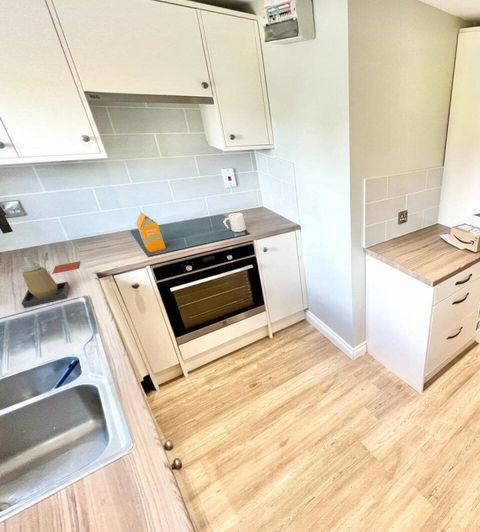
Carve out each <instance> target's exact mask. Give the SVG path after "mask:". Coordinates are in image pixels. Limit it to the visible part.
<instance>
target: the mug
mask: <svg viewBox="0 0 480 532" xmlns="http://www.w3.org/2000/svg"><path fill="white" fill-rule="evenodd" d="M227 221H229V224H230V227H229V225H228V224H227ZM222 223H223V224H224V227H226V229H229V228H230V229H231V231H232V232H235V233H239V232H243V231H246V228H247V227H246V223H245V217H244V214H243V213H241V212H235V213H233V212H232V213H229V214H228V217H225V218H224V219H223V221H222Z"/></svg>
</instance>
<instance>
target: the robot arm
mask: <svg viewBox="0 0 480 532" xmlns="http://www.w3.org/2000/svg"><path fill="white" fill-rule="evenodd" d="M6 216H7V212H5V210H4V209H3V208H2V206H1V205H0V231H1V233H2V234H9V233H12V232H14V230H13V228H12V226H11V225H10V223H9V221H8V219H7V218H6Z"/></svg>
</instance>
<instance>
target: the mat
mask: <svg viewBox="0 0 480 532" xmlns="http://www.w3.org/2000/svg"><path fill="white" fill-rule="evenodd" d="M80 264H81V261H75V262H74V261H73V262H69V263H68V262H67V263H63V264H58V265H54V269H53V271H52V274H58V273H63V272H67V271H73V270H78V269H79V267H80Z"/></svg>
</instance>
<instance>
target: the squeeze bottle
mask: <svg viewBox="0 0 480 532" xmlns="http://www.w3.org/2000/svg"><path fill="white" fill-rule="evenodd" d="M23 261H24V265H23V266H22V268H21V269H23V272H22V273H21V274H22V277H23V279H24V282H25V285H26V287H27V290H29V292H30V293H31V294H33V295H34V296H35V297H37V298H38V299H40V298H44V297H49V296H53V295H56V294H57V284H58V283H57V282H56V281H55V280H54V279H53V277H52V275H51V274H50V273H49V271H48V270H47V269H46V268H45V267H43V266H41V264H40V263H39V262H34V260H32V259H31V258H30V257H29V256H24V257H23Z"/></svg>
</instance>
